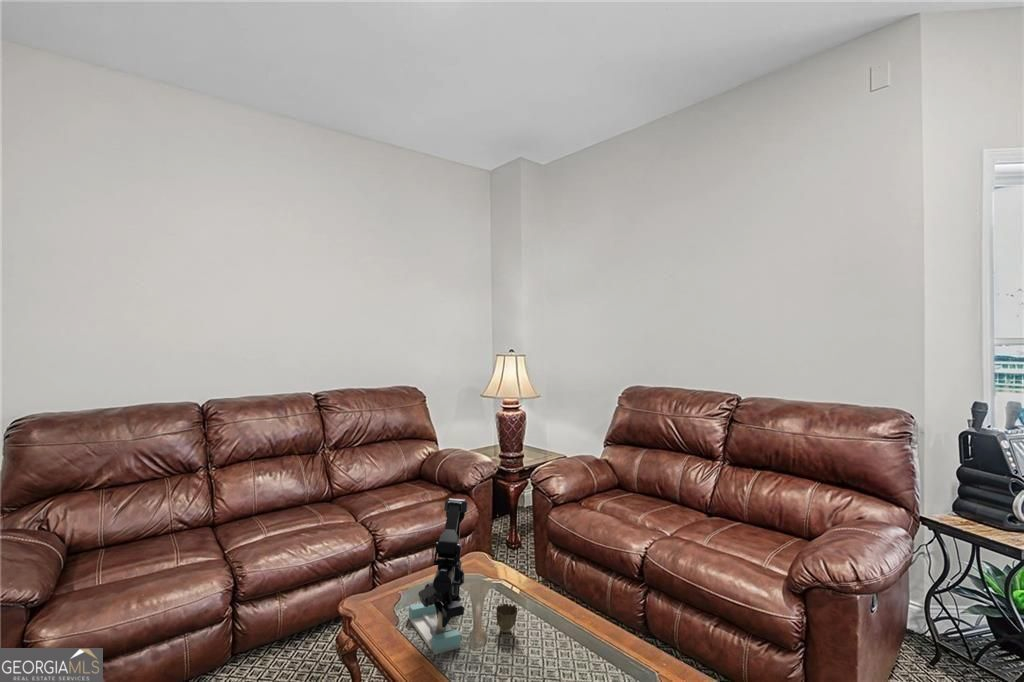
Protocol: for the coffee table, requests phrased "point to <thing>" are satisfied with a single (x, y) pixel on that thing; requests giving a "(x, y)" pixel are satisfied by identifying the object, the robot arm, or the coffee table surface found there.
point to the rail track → (425, 620)
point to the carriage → (439, 626)
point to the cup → (506, 617)
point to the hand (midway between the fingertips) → (441, 624)
